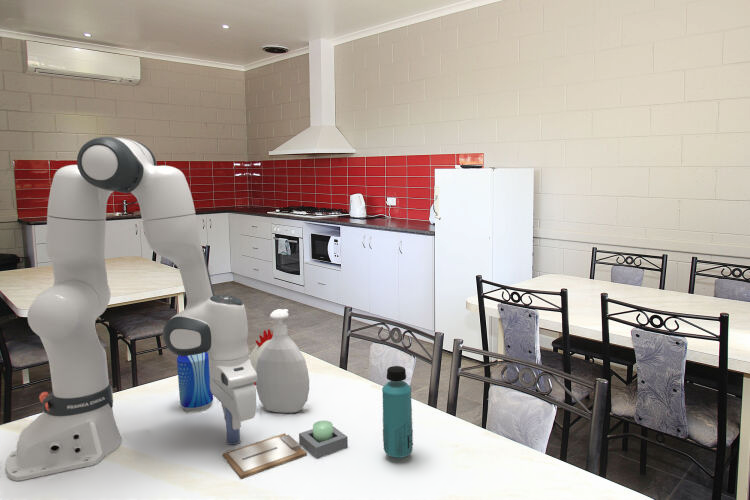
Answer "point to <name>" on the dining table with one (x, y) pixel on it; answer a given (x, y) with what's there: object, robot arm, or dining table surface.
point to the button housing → (323, 443)
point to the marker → (231, 429)
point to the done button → (322, 431)
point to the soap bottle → (282, 371)
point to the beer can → (194, 382)
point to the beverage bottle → (397, 414)
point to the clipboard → (264, 455)
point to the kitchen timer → (260, 348)
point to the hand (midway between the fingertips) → (232, 424)
